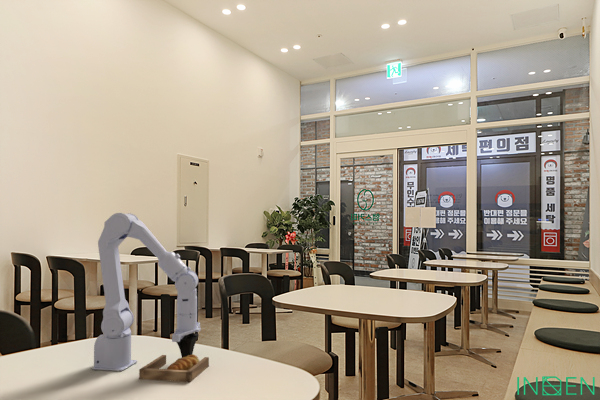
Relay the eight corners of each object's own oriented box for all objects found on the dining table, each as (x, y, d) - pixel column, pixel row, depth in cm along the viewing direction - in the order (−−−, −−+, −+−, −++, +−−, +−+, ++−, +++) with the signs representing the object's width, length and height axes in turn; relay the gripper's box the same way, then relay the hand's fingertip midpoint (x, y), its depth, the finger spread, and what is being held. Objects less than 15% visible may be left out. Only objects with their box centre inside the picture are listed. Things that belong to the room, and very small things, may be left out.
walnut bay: (139, 379, 110) (139, 369, 111) (162, 363, 122) (162, 354, 123) (190, 382, 108) (190, 372, 108) (208, 366, 120) (208, 357, 120)
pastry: (177, 380, 110) (177, 365, 111) (160, 375, 114) (160, 361, 114) (203, 369, 118) (203, 355, 118) (186, 365, 122) (186, 351, 122)
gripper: (189, 319, 115) (188, 369, 114) (209, 308, 129) (209, 353, 129) (165, 318, 116) (164, 368, 116) (188, 307, 131) (188, 352, 130)
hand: (186, 360), depth 122 cm, fingers closed
